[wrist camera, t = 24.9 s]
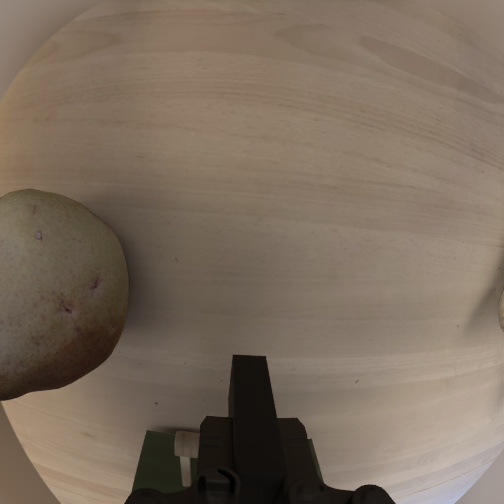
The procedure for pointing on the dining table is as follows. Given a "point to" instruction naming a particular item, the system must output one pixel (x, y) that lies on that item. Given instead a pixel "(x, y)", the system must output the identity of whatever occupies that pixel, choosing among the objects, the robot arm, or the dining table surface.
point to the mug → (501, 311)
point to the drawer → (174, 461)
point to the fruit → (56, 292)
